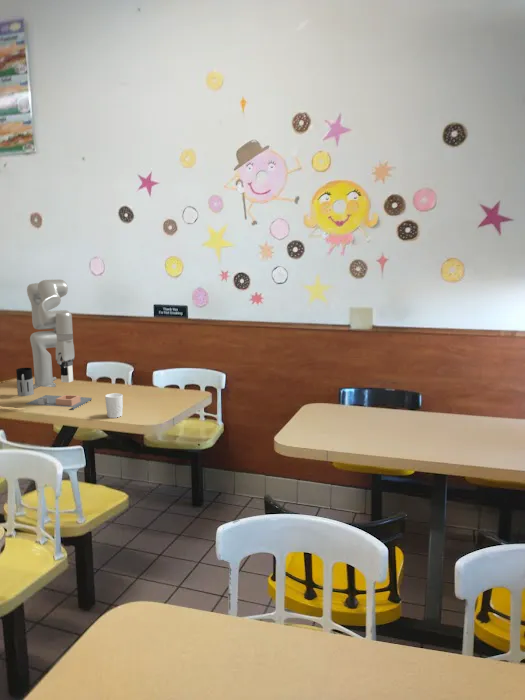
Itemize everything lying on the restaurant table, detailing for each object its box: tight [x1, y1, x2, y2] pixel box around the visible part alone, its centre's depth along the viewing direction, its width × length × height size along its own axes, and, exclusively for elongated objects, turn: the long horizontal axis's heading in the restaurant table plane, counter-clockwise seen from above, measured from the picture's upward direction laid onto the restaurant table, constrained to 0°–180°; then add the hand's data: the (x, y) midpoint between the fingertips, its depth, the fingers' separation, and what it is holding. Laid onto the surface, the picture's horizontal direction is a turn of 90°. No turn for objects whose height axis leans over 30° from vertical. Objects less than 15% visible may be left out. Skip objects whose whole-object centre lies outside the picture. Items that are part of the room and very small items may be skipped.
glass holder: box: [15, 367, 35, 397], centre depth 284 cm, size 9×14×15 cm, turn 18°
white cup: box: [104, 392, 124, 419], centre depth 254 cm, size 8×8×10 cm
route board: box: [25, 394, 92, 411], centre depth 274 cm, size 18×26×4 cm
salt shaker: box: [60, 361, 74, 383], centre depth 268 cm, size 4×4×10 cm
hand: (66, 374), depth 268 cm, fingers closed on salt shaker, 4 cm apart
